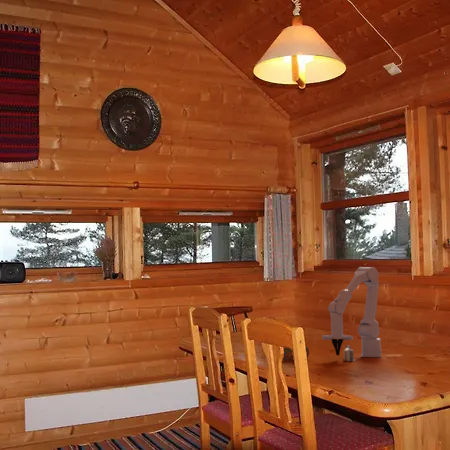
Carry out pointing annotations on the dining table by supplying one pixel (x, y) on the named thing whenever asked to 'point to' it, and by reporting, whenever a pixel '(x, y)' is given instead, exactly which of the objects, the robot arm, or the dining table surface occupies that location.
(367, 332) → the robot arm
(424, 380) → the dining table surface
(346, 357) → the lipped cream column
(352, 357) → the latch block
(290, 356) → the tin
